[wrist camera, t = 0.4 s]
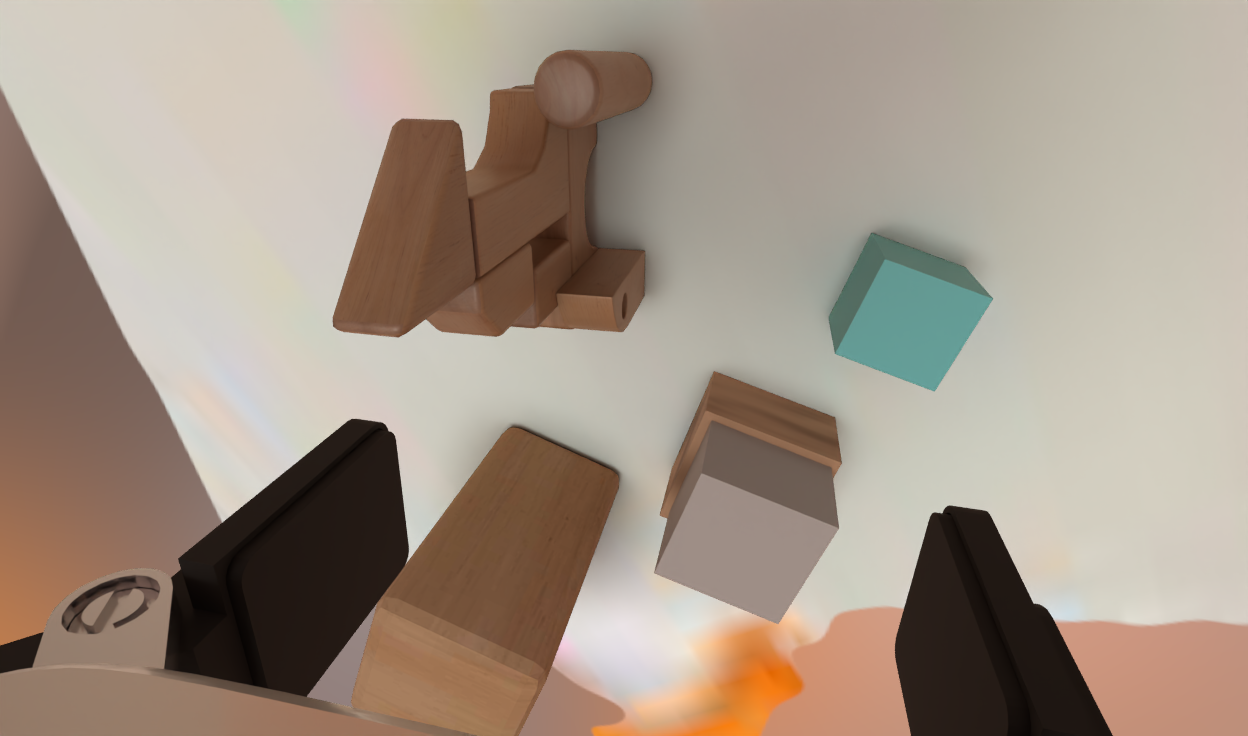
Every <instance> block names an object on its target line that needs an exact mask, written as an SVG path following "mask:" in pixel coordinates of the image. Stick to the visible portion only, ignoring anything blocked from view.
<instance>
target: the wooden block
mask: <svg viewBox="0 0 1248 736" xmlns="http://www.w3.org/2000/svg"><path fill="white" fill-rule="evenodd" d="M618 488H619V479H618V475H617V474H616V473H615V472H613V471H612V470H610V469H608V468H606V467H604V466H601V465H599V464H597V463H595V462H593V461H590V460H588V459H586V458H584V457H582V456H579V455H577V454H575V453H573V452H571V451H568V450H566V449H564V448H562V447H560V446H557V445H555V444H553V443H551V442H549V441H546V440H544V439H542V438H540V437H538V436H535V435H533V434H531V433H529V432H527V431H524V430H522V429H520V428H513V427H511V428H509V429H507V430H506V431H505V432H504V433H503V434H502V435H501V436H500V438H499V439H498V441H497V442H496V443H495V445H494V446H493V447H492V449H491V450H490V451H489V453H488V454H487V455H486V457H485V458H484V459H483V461H482V462H481V464H480V465H479V466H478V468H477V469H476V470H475V472H474V473H473V474H472V476H471V477H470V478H469V480H468V481H467V482H466V484H465V485H464V487H463V488H462V489H461V491H460V492H459V493H458V495H457V496H456V497H455V499H454V500H453V501H452V503H451V504H450V505H449V507H448V508H447V510H446V511H445V512H444V514H443V515H442V516H441V518H440V519H439V520H438V522H437V523H436V524H435V526H434V527H433V528H432V530H431V531H430V533H429V534H428V535H427V537H426V538H425V539H424V541H423V542H422V543H421V545H420V546H419V547H418V549H417V550H416V551H415V553H414V554H413V556H412V557H411V558H410V560H409V561H408V562H407V564H406V565H405V566H404V568H403V569H402V571H401V572H400V573H399V575H398V576H397V577H396V579H395V580H394V581H393V583H392V584H391V585H390V587H389V588H388V589H387V591H386V592H385V593H384V595H383V596H382V597H381V599H380V600H379V602H378V603H377V607H376V610H375V614H374V618H373V621H372V625H371V628H370V632H369V635H368V639H367V643H366V646H365V650H364V653H363V657H362V661H361V664H360V668H359V671H358V675H357V679H356V682H355V686H354V690H353V694H352V700H351V703H352V706H353V707H354V708H358V709H362V710H367V711H371V712H376V713H380V714H385V715H389V716H394V717H398V718H403V719H407V720H412V721H416V722H421V723H425V724H430V725H434V726H439V727H443V728H447V729H452V730H456V731H461V732H465V733H469V734H474V735H478V736H518V735H519V733H520V731H521V729H522V728H523V725H524V724H525V721H526V719H527V717H528V716H529V714H530V711H531V709H532V708H533V706H534V704H535V702H536V700H537V698H538V696H539V694H540V692H541V690H542V688H543V686H544V684H545V682H546V680H547V677H548V674H549V671H550V669H551V666H552V664H553V661H554V658H555V656H556V653H557V650H558V648H559V645H560V642H561V640H562V637H563V634H564V632H565V629H566V626H567V624H568V621H569V618H570V616H571V613H572V610H573V608H574V605H575V602H576V600H577V597H578V595H579V592H580V589H581V587H582V584H583V581H584V579H585V576H586V573H587V571H588V568H589V565H590V563H591V560H592V557H593V555H594V552H595V549H596V547H597V544H598V541H599V539H600V536H601V533H602V531H603V528H604V525H605V523H606V520H607V517H608V515H609V512H610V509H611V507H612V504H613V501H614V499H615V496H616V494H617V491H618Z"/></svg>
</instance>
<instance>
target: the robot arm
mask: <svg viewBox="0 0 1248 736" xmlns="http://www.w3.org/2000/svg"><path fill="white" fill-rule="evenodd" d="M408 553H409V545H408V537H407V528H406V520H405V512H404V503H403V495H402V487H401V478H400V470H399V462H398V453H397V445H396V439H395V435H394V434H393V433H392V432H389V431H388V428H387V427H386V425H385V424H384V423H381V422H374V421H368V420H361V419H351V420H349V421H347V422H346V423H345V424H344V425H342V426H341V427H340V428H339V429H338V430H336V431H335V432H334V433H333V434H331V435H330V436H329V437H328V438H326V439H325V440H324V441H323V442H321V443H320V444H319V445H318V446H317V447H315V448H314V449H313V450H312V451H310V452H309V453H308V454H307V455H305V456H304V457H303V458H302V459H300V460H299V461H298V462H297V463H296V464H294V465H293V466H292V467H291V468H289V469H288V470H287V471H286V472H284V473H283V474H282V475H281V476H280V477H278V478H277V479H276V480H275V481H273V482H272V483H271V484H270V485H268V486H267V487H266V488H265V489H263V490H262V491H261V492H260V493H259V494H257V495H256V496H255V497H254V498H252V499H251V500H250V501H249V502H247V503H246V504H245V505H244V506H242V507H241V508H240V509H239V510H238V511H236V512H235V513H234V514H233V515H231V516H230V517H229V518H228V519H226V520H225V521H224V522H223V523H221V524H220V525H219V526H218V527H217V528H215V529H214V530H213V531H212V532H210V533H209V534H208V535H207V536H206V537H204V538H203V539H202V540H200V541H199V542H198V543H197V544H196V545H194V546H193V547H192V548H191V549H189V550H188V551H187V552H186V553H185V554H183V555H182V556H181V557H180V558H178V560H179V564H180V567H181V570H180V571H179V572H177V573H176V574H175V575H174V576H173V577H171V578H170V577H169V576H168V575H167V574H166V573H165V572H162V571H159V570H155V569H149V568H146V569H145V568H136V569H131V570H124V571H119V572H116V573H112V574H109V575H107V576H103V577H101V578H98V579H96V580H94V581H92V582H90V583H88V584H86V585H84V586H82V587H80V588H79V589H77V590H76V591H74V592H73V593H71V594H70V595H68V596H67V597H66V598H65V599H64V600H63V601H62V602H60V603H59V604H58V605H57V606H56V607H55V609H54V610H53V612H52V614H51V615H50V617H49V619H48V621H47V624H46V627H45V630H44V632H43V633H39V634H36V635H33V636H29V637H26V638H23V639H20V640H17V641H14V642H10V643H7V644H4V645H1V646H0V736H478V735H474V734H469V733H465V732H461V731H456V730H452V729H447V728H443V727H439V726H434V725H430V724H425V723H421V722H416V721H412V720H407V719H403V718H398V717H394V716H389V715H385V714H380V713H376V712H371V711H367V710H362V709H358V708H353V707H348V706H344V705H340V704H335V703H331V702H326V701H322V700H317V699H313V698H308V697H307V695H308V694H309V693H310V691H311V690H312V689H313V687H314V686H315V685H316V683H317V682H318V681H319V679H320V678H321V677H322V675H323V674H324V673H325V671H326V670H327V669H328V667H329V666H330V665H331V663H332V662H333V661H334V659H335V658H336V657H337V655H338V654H339V653H340V652H341V650H342V649H343V648H344V646H345V645H346V644H347V642H348V641H349V640H350V638H351V637H352V636H353V634H354V633H355V632H356V630H357V629H358V628H359V626H360V625H361V624H362V622H363V621H364V620H365V618H366V617H367V616H368V614H369V613H370V612H371V610H372V609H373V608H374V606H375V605H376V604H377V602H378V601H379V600H380V599H381V597H382V596H383V595H384V593H385V592H386V591H387V589H388V588H389V587H390V585H391V584H392V583H393V581H394V580H395V579H396V577H397V576H398V575H399V573H400V572H401V571H402V569H403V568H404V566H405V564H406V562H407V558H408ZM895 658H896V663H897V669H898V674H899V678H900V683H901V688H902V693H903V698H904V703H905V707H906V713H907V718H908V722H909V727H910V732H911V736H1113V735H1112V733H1111V731H1110V729H1109V728H1108V725H1107V724H1106V722H1105V720H1104V718H1103V716H1102V714H1101V712H1100V710H1099V708H1098V706H1097V704H1096V702H1095V700H1094V698H1093V696H1092V694H1091V692H1090V690H1089V688H1088V686H1087V684H1086V682H1085V681H1084V678H1083V676H1082V675H1081V673H1080V671H1079V669H1078V667H1077V665H1076V663H1075V661H1074V659H1073V657H1072V655H1071V653H1070V651H1069V649H1068V647H1067V645H1066V643H1065V641H1064V639H1063V637H1062V635H1061V634H1060V631H1059V630H1058V627H1057V626H1056V624H1055V622H1054V620H1053V618H1052V616H1051V615H1050V613H1049V612H1048V610H1047V609H1046V608H1045V607H1043V606H1041V605H1039V604H1033V602H1032V600H1031V598H1030V595H1029V593H1028V591H1027V589H1026V587H1025V585H1024V583H1023V581H1022V579H1021V577H1020V575H1019V573H1018V571H1017V569H1016V567H1015V565H1014V563H1013V561H1012V559H1011V557H1010V554H1009V552H1008V550H1007V548H1006V546H1005V544H1004V542H1003V540H1002V538H1001V536H1000V534H999V532H998V530H997V528H996V526H995V524H994V522H993V520H992V518H991V516H990V514H989V513H988V512H987V511H984V510H977V509H970V508H963V507H956V506H947V507H946V508H945V509H944V511H943V513H935V512H934V513H932V515H931V516H930V519H929V522H928V526H927V529H926V533H925V537H924V540H923V544H922V547H921V551H920V554H919V558H918V561H917V565H916V568H915V572H914V576H913V579H912V583H911V586H910V590H909V593H908V597H907V600H906V604H905V607H904V611H903V615H902V618H901V622H900V625H899V629H898V633H897V637H896V643H895Z"/></svg>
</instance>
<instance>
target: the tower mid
mask: <svg viewBox="0 0 1248 736" xmlns="http://www.w3.org/2000/svg"><path fill="white" fill-rule="evenodd" d="M838 529H839V524H838V516H837V508H836V500H835V492H834V483H833V475H832V468H831V467H829V466H826V465H824V464H821V463H819V462H816V461H814V460H811V459H809V458H806V457H803V456H801V455H798V454H796V453H793V452H791V451H788V450H786V449H783V448H781V447H778V446H776V445H773V444H771V443H768V442H766V441H763V440H761V439H758V438H756V437H753V436H751V435H748V434H745V433H743V432H740V431H738V430H735V429H733V428H730V427H728V426H725V425H723V424H720V423H718V422H715V421H713V420H712V421H711V423H710V425H709V427H708V429H707V431H706V434H705V436H704V438H703V440H702V442H701V445H700V447H699V449H698V451H697V453H696V455H695V458H694V460H693V462H692V464H691V466H690V468H689V471H688V473H687V475H686V477H685V479H684V482H683V484H682V486H681V488H680V490H679V492H678V495H677V497H676V499H675V501H674V503H673V505H672V508H671V510H670V512H669V515H668V519H667V523H666V527H665V531H664V535H663V540H662V544H661V548H660V552H659V556H658V560H657V564H656V568H655V572H654V573H655V574H657V575H660V576H662V577H665V578H667V579H670V580H672V581H674V582H677V583H679V584H682V585H684V586H687V587H689V588H691V589H694V590H696V591H699V592H701V593H704V594H706V595H709V596H711V597H713V598H716V599H718V600H721V601H723V602H726V603H728V604H730V605H733V606H735V607H738V608H740V609H743V610H745V611H748V612H750V613H752V614H755V615H757V616H760V617H762V618H765V619H767V620H769V621H772V622H774V623H777V624H779V622H780V621H781V619H782V617H783V616H784V614H785V613H786V611H787V610H788V608H789V606H790V605H791V603H792V602H793V600H794V599H795V597H796V595H797V594H798V592H799V591H800V589H801V587H802V586H803V584H804V583H805V581H806V580H807V578H808V576H809V575H810V573H811V572H812V570H813V569H814V567H815V565H816V564H817V562H818V561H819V559H820V557H821V556H822V554H823V553H824V551H825V550H826V548H827V546H828V545H829V543H830V542H831V540H832V539H833V537H834V535H835V534H836V532H837V531H838Z"/></svg>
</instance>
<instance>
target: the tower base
mask: <svg viewBox="0 0 1248 736" xmlns="http://www.w3.org/2000/svg"><path fill="white" fill-rule="evenodd" d="M712 420H713V421H715V422H718V423H720V424H723V425H725V426H728V427H730V428H733V429H735V430H738V431H740V432H743V433H745V434H748V435H751V436H753V437H756V438H758V439H761V440H763V441H766V442H768V443H771V444H773V445H776V446H778V447H781V448H783V449H786V450H788V451H791V452H793V453H796V454H798V455H801V456H803V457H806V458H809V459H811V460H814V461H816V462H819V463H821V464H824V465H826V466H829V467H831V468H832V475H833V477H834V476H835V474H836V472H837V471H838V469H839V467H840V465H841V464H842V461H841V454H840V448H839V441H838V434H837V428H836V421H835V417H832V416H830V415H827V414H824V413H822V412H819V411H817V410H814V409H811V408H809V407H806V406H804V405H801V404H798V403H796V402H793V401H791V400H788V399H785V398H783V397H780V396H777V395H775V394H772V393H770V392H767V391H764V390H762V389H759V388H757V387H754V386H751V385H749V384H746V383H744V382H741V381H738V380H736V379H733V378H731V377H728V376H725V375H723V374H720V373H718V372H715V371H714V373H713V375H712V377H711V379H710V382H709V384H708V386H707V389H706V391H705V393H704V396H703V398H702V400H701V403H700V405H699V407H698V410H697V412H696V414H695V417H694V419H693V421H692V423H691V426H690V428H689V430H688V433H687V435H686V437H685V440H684V442H683V444H682V447H681V449H680V451H679V454H678V456H677V458H676V460H675V463H674V465H673V467H672V470H671V474H670V478H669V482H668V485H667V489H666V493H665V497H664V501H663V504H662V508H661V512H660V516H662V517H665V518H667V519H668V515H669V512H670V510H671V508H672V505H673V503H674V501H675V499H676V497H677V495H678V492H679V490H680V488H681V486H682V484H683V482H684V479H685V477H686V475H687V473H688V471H689V468H690V466H691V464H692V462H693V460H694V458H695V455H696V453H697V451H698V449H699V447H700V445H701V442H702V440H703V438H704V436H705V434H706V431H707V429H708V427H709V425H710V423H711V421H712Z"/></svg>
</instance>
